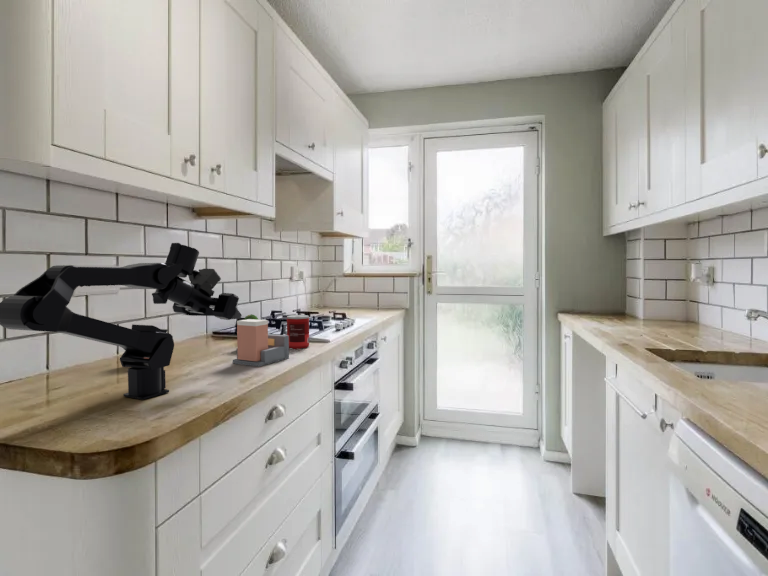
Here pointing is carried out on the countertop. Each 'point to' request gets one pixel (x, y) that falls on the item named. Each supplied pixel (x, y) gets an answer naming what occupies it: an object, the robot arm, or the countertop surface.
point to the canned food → (298, 331)
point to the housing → (270, 351)
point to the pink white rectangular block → (251, 339)
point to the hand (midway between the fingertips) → (227, 315)
